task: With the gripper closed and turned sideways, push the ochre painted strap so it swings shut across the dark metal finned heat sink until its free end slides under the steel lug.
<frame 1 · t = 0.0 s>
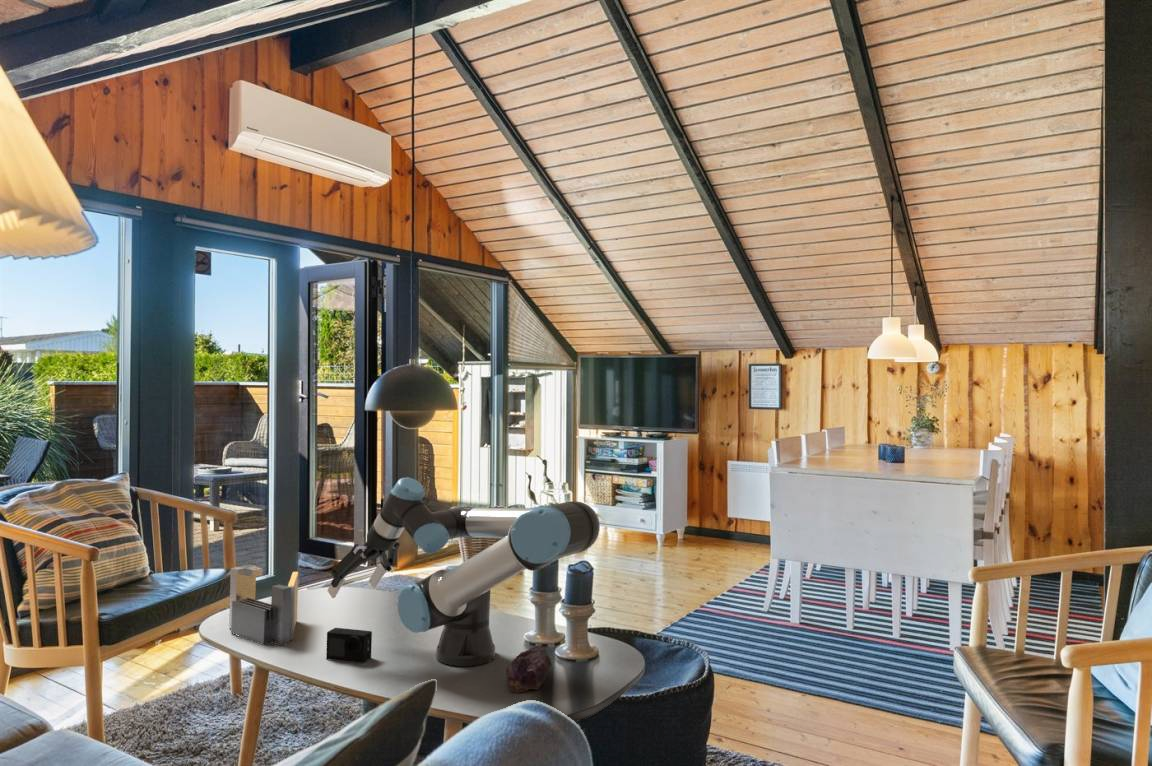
hand: (352, 589, 210), 15 cm above the table, tool tilted 35°, fingers open, 13 cm apart
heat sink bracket: (256, 636, 216), on the table
digital camera: (347, 660, 200), on the table
retention strap: (292, 604, 222), point 7 cm above the table, hinge at -40.0°
rock: (530, 688, 184), on the table
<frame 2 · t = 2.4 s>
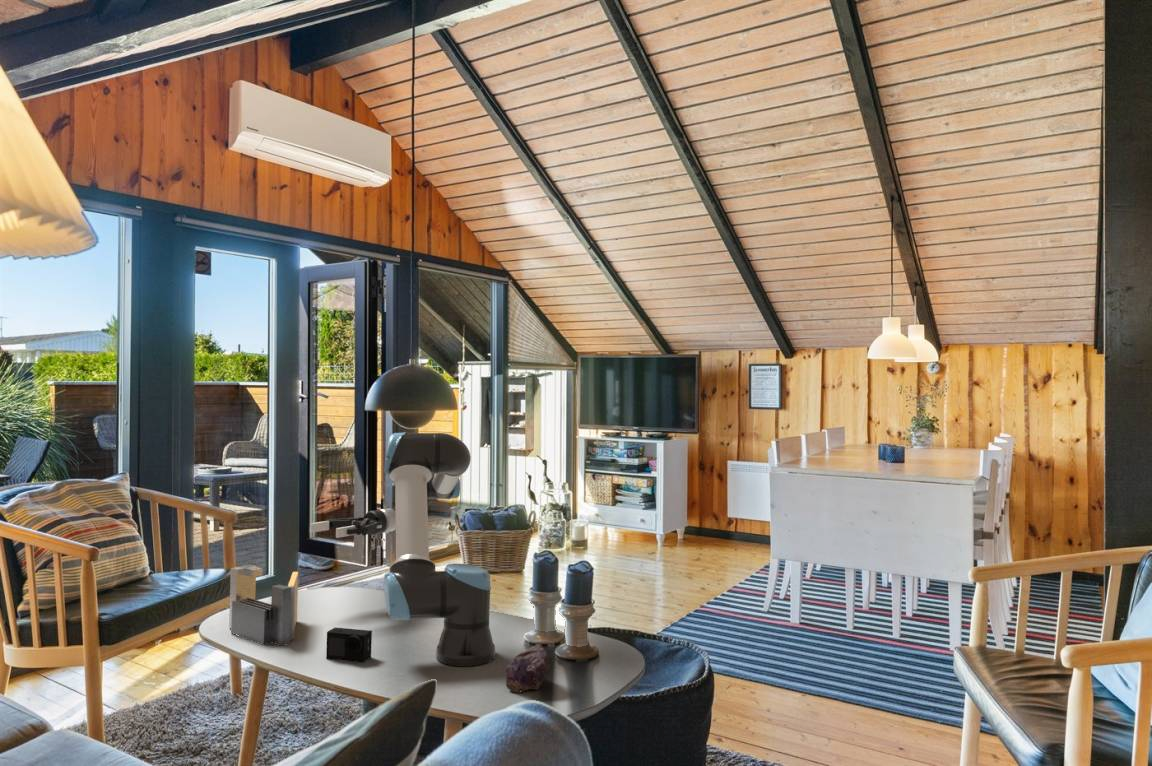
hand: (323, 530, 235), 26 cm above the table, tool horizontal, fingers open, 11 cm apart
nothing on the table moved.
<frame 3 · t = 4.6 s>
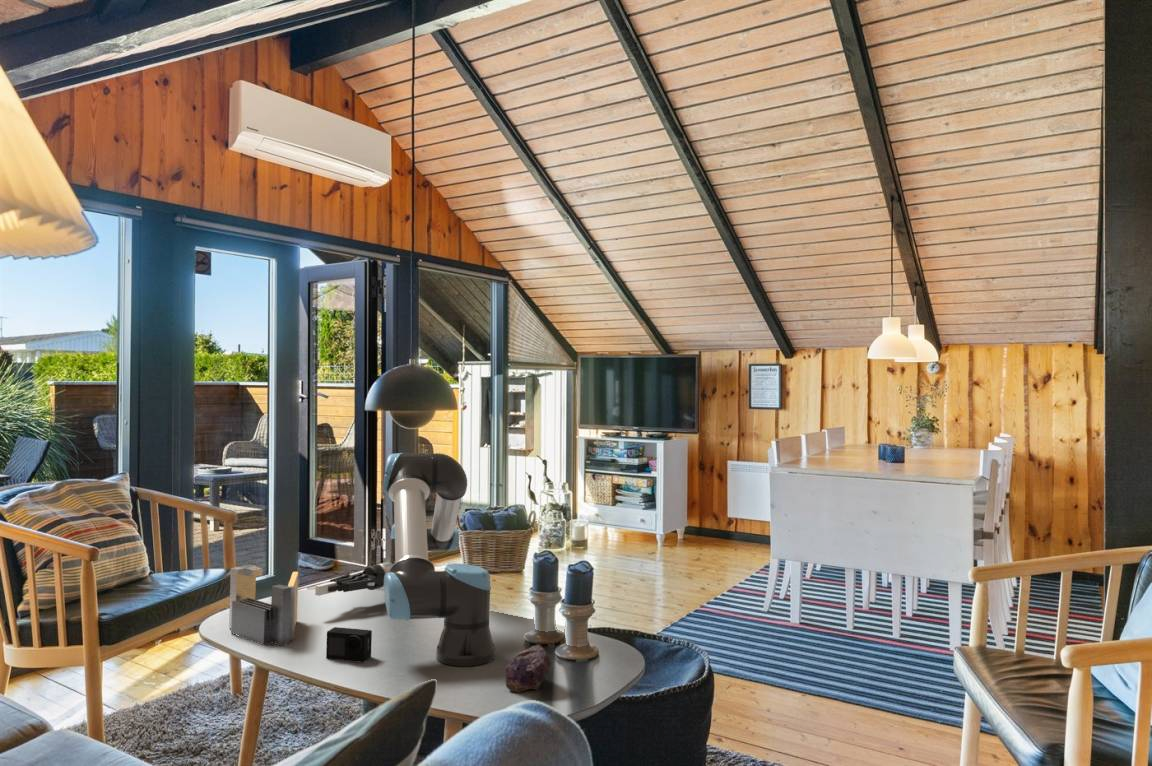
hand: (317, 590, 233), 9 cm above the table, tool horizontal, fingers closed
nothing on the table moved.
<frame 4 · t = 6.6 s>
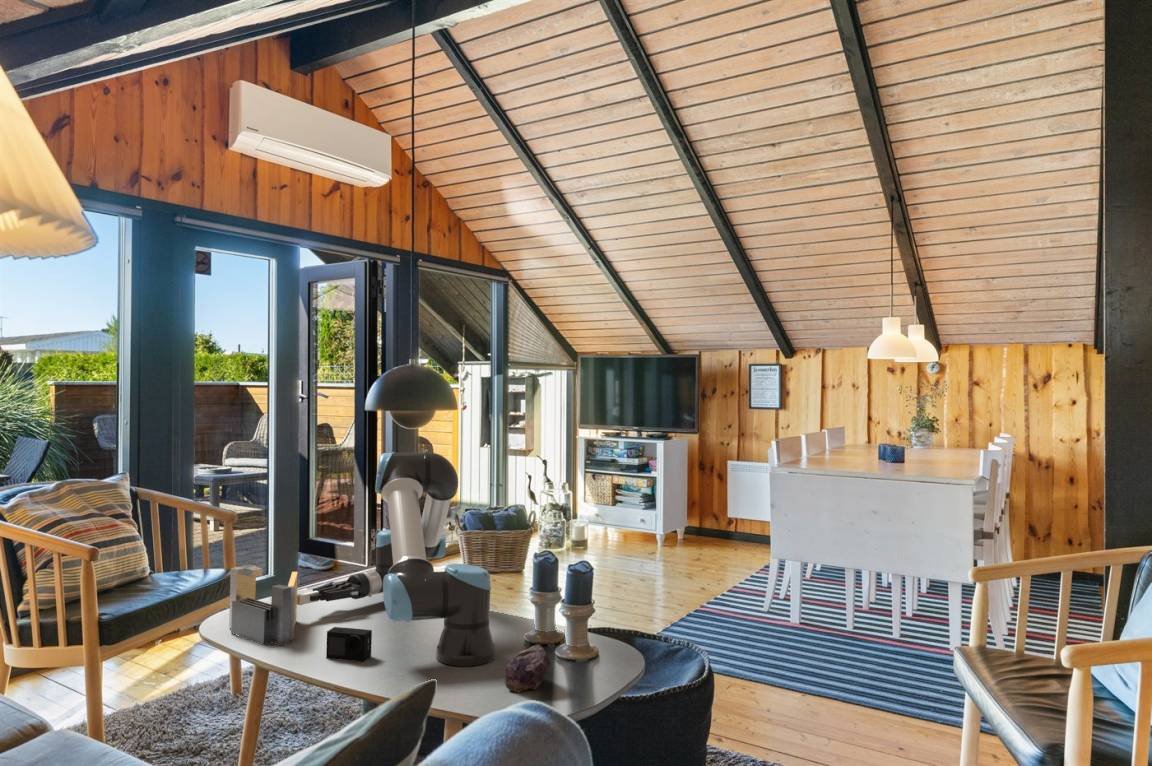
hand: (298, 600, 229), 7 cm above the table, tool horizontal, fingers closed
retention strap: (291, 604, 222), point 7 cm above the table, hinge at -39.5°, touching gripper
everything else where it was.
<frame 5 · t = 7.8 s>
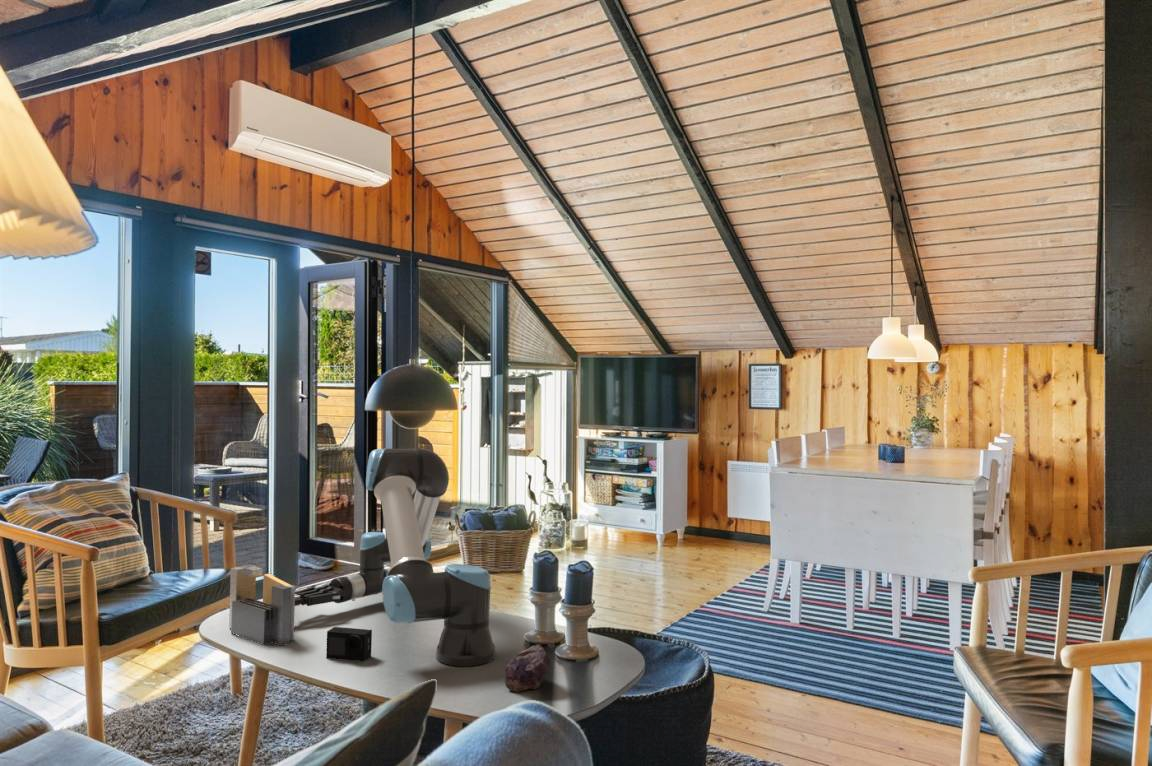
hand: (277, 604, 224), 7 cm above the table, tool horizontal, fingers closed
retention strap: (278, 605, 220), point 7 cm above the table, hinge at -14.1°, touching gripper
everything else where it was.
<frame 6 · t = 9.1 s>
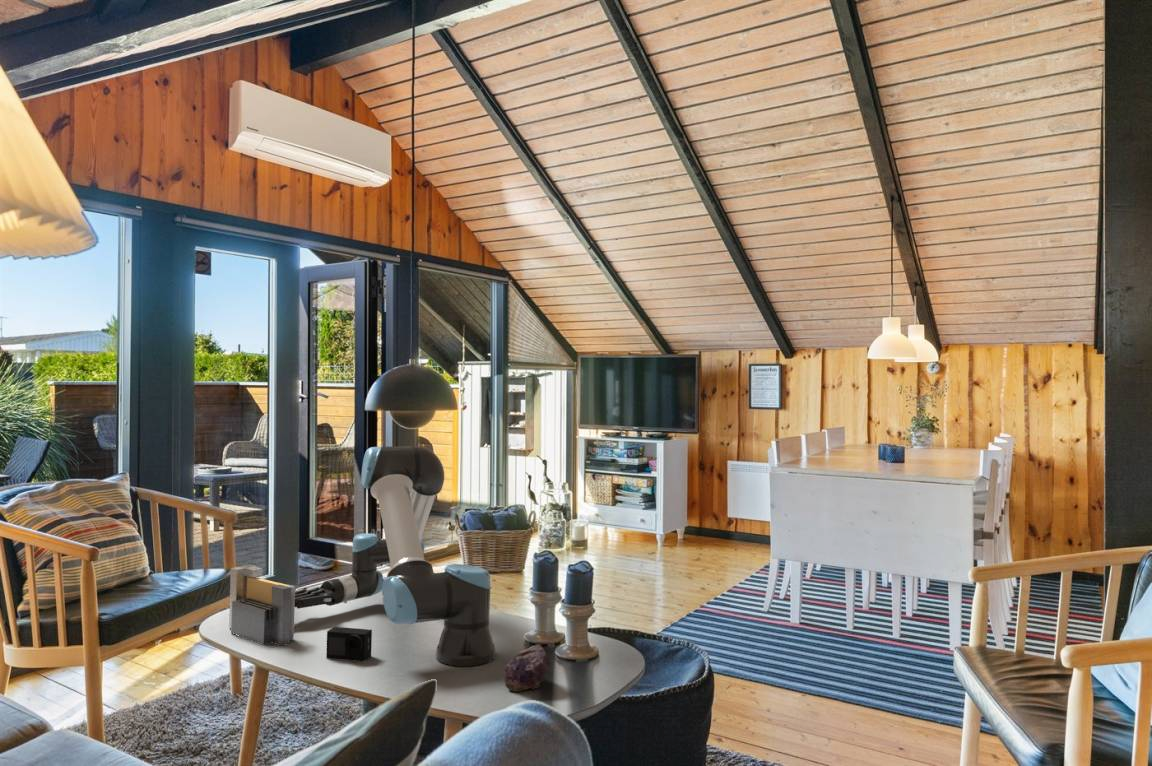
hand: (267, 607, 221), 7 cm above the table, tool horizontal, fingers closed
retention strap: (270, 607, 218), point 8 cm above the table, hinge at 1.8°, touching gripper
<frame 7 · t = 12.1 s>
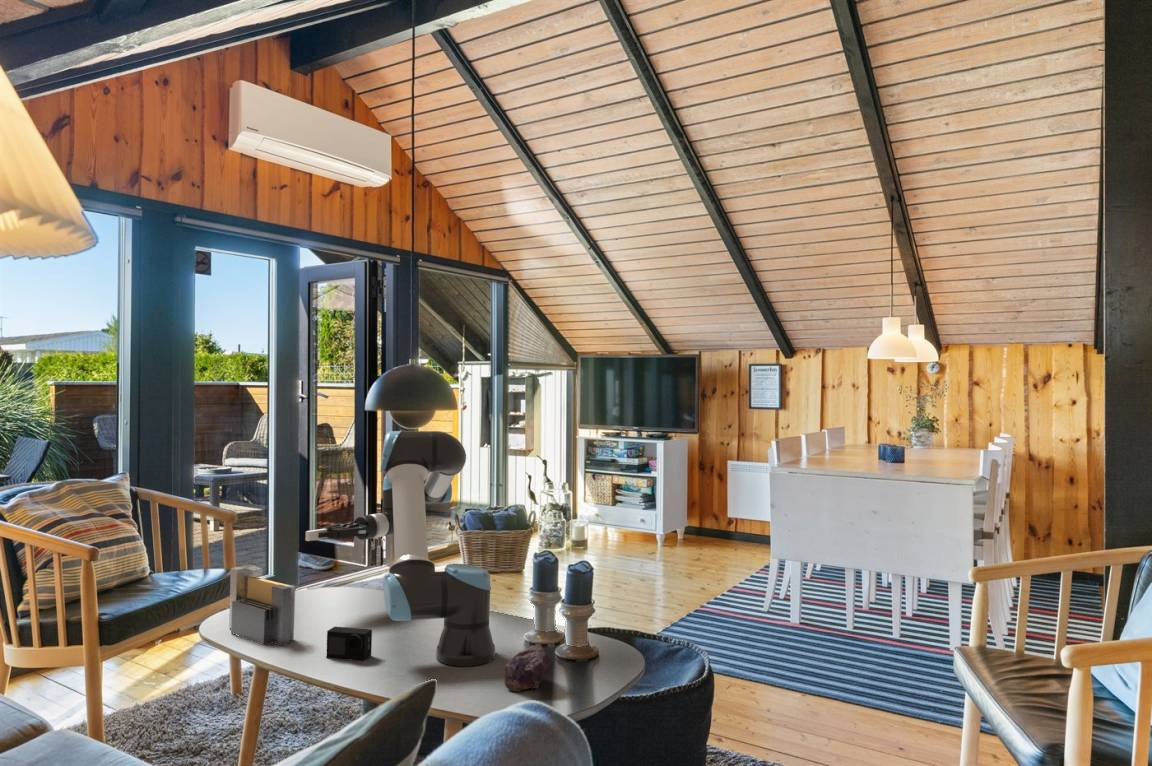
hand: (307, 536, 230), 25 cm above the table, tool horizontal, fingers closed
retention strap: (270, 607, 219), point 8 cm above the table, hinge at 1.1°
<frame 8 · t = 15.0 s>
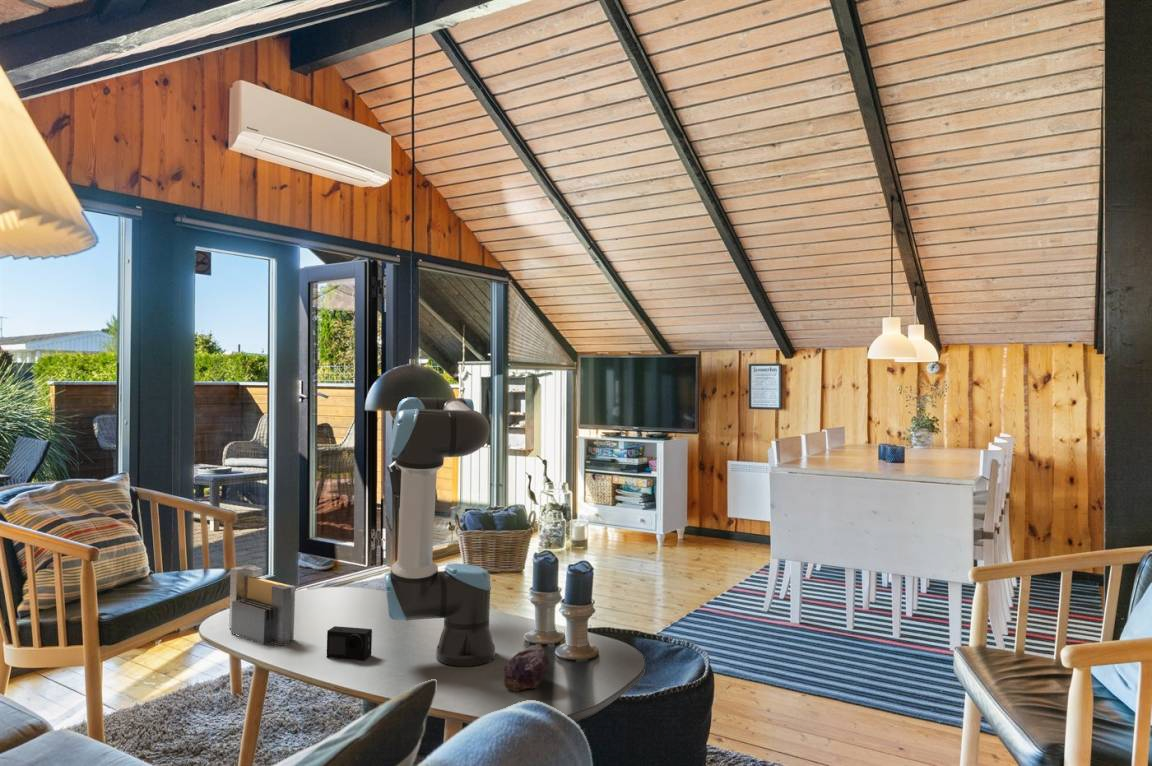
hand: (404, 518, 240), 29 cm above the table, tool pointing down, fingers closed
at the end: retention strap at +1° (first picture: -40°); digital camera moved 1.6 cm from its start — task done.
